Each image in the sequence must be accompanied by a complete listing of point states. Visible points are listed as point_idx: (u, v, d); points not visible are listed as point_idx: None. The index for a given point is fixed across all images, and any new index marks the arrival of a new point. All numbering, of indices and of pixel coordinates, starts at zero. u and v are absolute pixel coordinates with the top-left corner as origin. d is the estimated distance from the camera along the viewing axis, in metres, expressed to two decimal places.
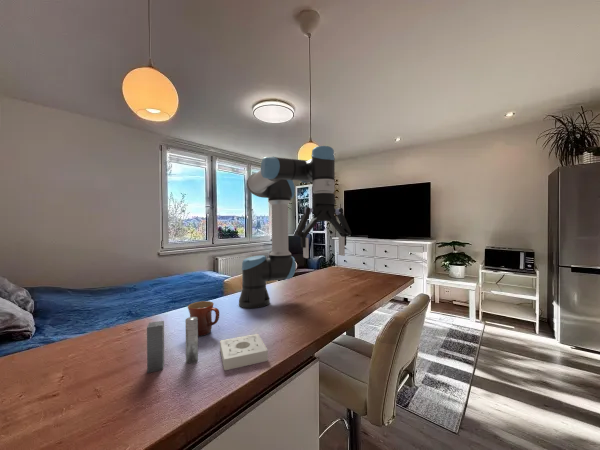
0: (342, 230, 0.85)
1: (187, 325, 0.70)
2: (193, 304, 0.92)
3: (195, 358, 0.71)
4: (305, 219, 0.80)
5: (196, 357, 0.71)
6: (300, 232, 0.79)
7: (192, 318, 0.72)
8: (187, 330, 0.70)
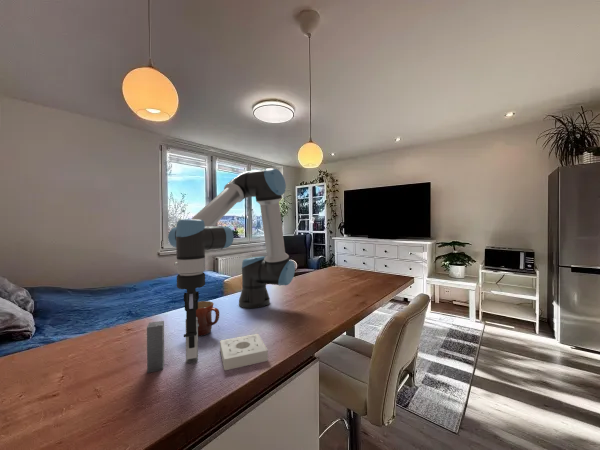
0: None
1: None
2: None
3: (195, 358, 0.71)
4: None
5: None
6: None
7: None
8: None
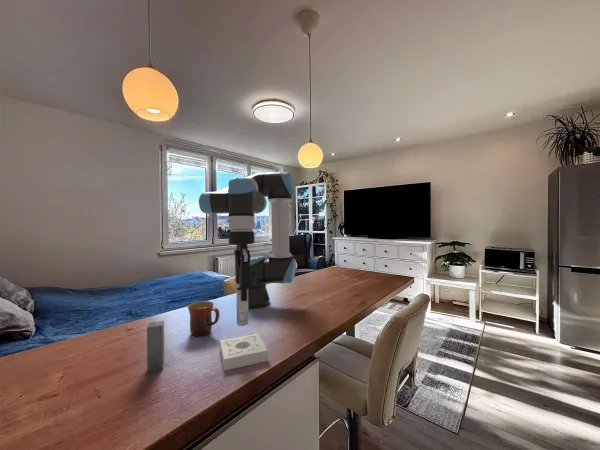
0: (239, 280, 0.71)
1: None
2: (193, 304, 0.92)
3: (246, 321, 0.73)
4: (235, 264, 0.78)
5: (247, 320, 0.73)
6: (235, 278, 0.78)
7: None
8: None
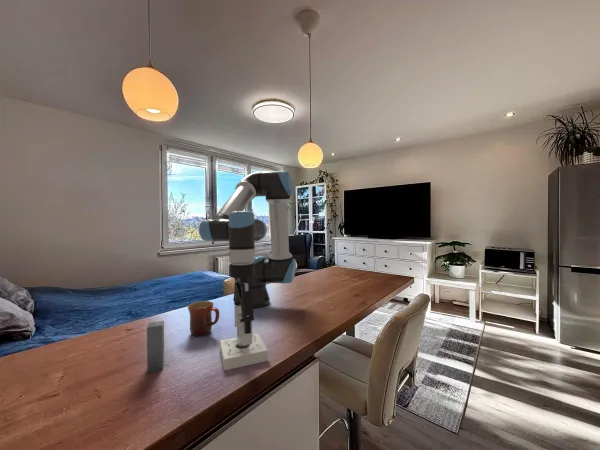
0: (242, 312, 0.68)
1: (239, 321, 0.72)
2: (193, 304, 0.92)
3: None
4: (234, 287, 0.80)
5: None
6: None
7: None
8: (239, 326, 0.72)
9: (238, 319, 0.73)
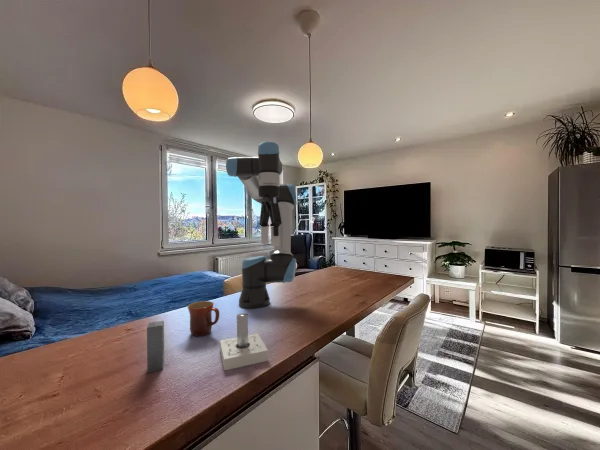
0: (271, 220, 0.83)
1: (239, 321, 0.72)
2: (193, 304, 0.92)
3: None
4: (261, 211, 0.96)
5: None
6: (260, 222, 0.98)
7: (243, 314, 0.74)
8: (239, 326, 0.72)
9: (238, 319, 0.73)
